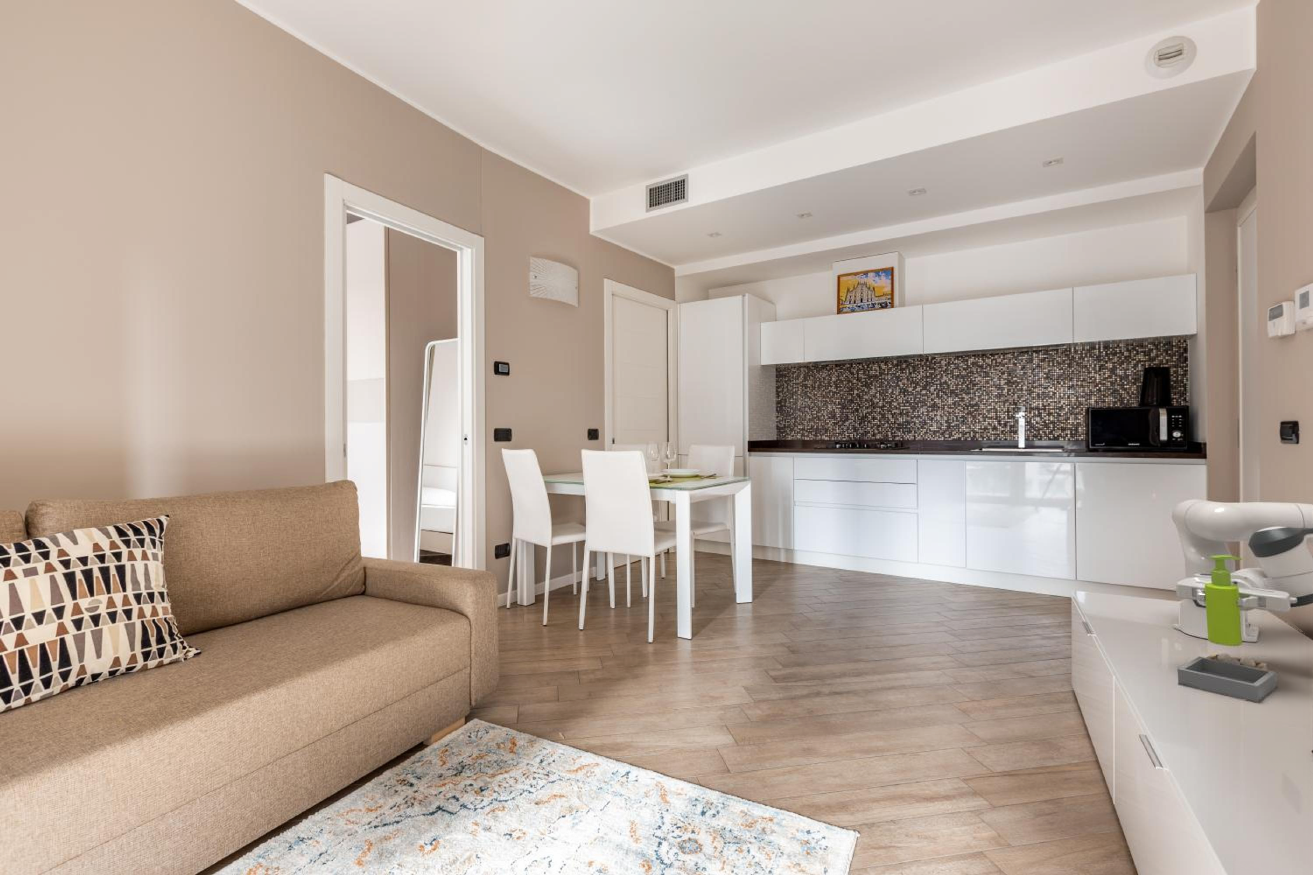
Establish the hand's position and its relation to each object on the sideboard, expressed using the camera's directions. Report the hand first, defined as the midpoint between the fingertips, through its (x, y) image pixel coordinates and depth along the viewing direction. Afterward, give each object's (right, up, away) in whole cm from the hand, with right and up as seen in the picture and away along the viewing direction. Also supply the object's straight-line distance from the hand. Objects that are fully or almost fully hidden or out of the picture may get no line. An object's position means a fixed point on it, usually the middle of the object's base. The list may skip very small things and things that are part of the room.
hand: (1220, 600), depth 146 cm
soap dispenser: (+2, -10, 0) cm, 10 cm away
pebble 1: (+11, -18, +11) cm, 24 cm away
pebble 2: (+10, -18, +8) cm, 22 cm away
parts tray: (+11, -20, +9) cm, 24 cm away
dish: (+2, -20, 0) cm, 20 cm away
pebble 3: (+13, -18, +7) cm, 23 cm away
